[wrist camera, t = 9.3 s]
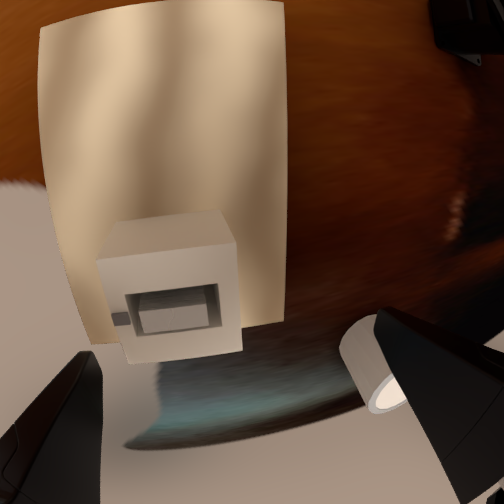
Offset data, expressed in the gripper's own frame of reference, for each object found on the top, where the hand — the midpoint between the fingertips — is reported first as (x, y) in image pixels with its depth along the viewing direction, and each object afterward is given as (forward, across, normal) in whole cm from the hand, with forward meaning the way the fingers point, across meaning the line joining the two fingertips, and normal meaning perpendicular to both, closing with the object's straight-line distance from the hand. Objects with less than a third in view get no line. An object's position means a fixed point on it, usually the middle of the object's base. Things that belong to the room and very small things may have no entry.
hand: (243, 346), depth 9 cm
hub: (+10, +2, +2) cm, 10 cm away
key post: (+10, +2, +2) cm, 10 cm away
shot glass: (+12, -14, +13) cm, 22 cm away
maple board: (+12, +2, -3) cm, 12 cm away
